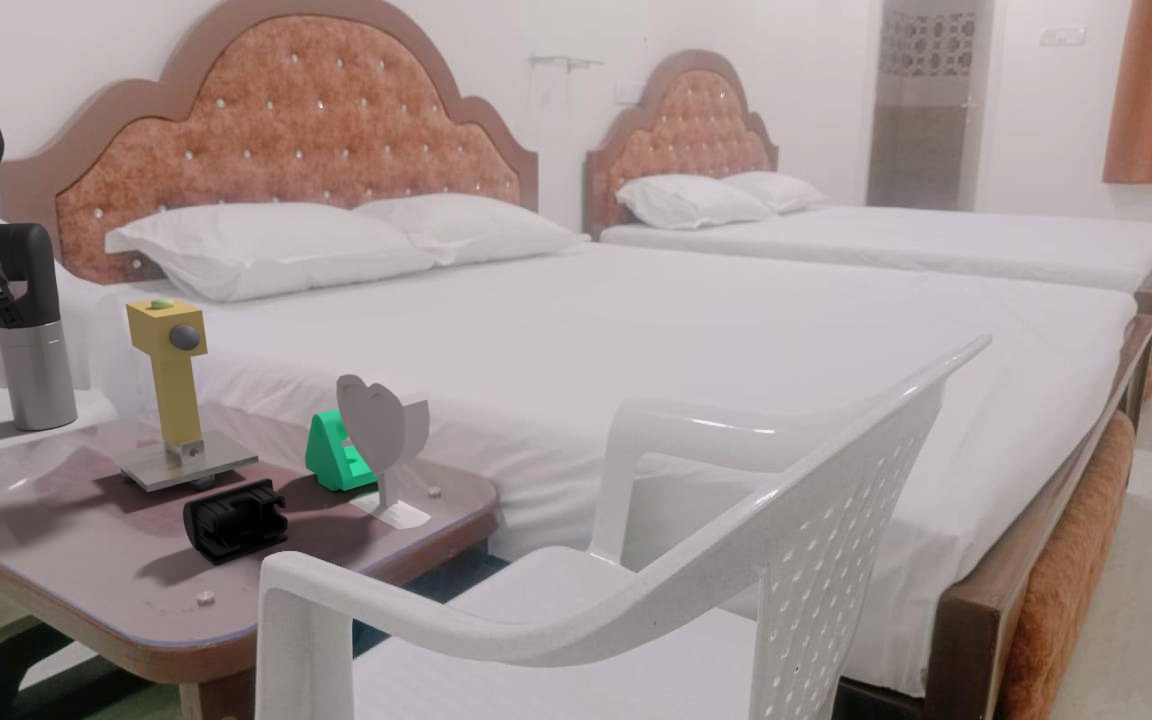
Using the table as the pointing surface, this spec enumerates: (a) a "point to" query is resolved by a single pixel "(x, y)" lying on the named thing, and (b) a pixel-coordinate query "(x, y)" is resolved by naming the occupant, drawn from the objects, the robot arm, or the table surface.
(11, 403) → the robot arm
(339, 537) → the table surface
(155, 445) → the grey metal base plate
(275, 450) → the table surface
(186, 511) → the end cap
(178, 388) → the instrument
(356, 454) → the camera mount
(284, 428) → the table surface
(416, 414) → the heart sculpture
